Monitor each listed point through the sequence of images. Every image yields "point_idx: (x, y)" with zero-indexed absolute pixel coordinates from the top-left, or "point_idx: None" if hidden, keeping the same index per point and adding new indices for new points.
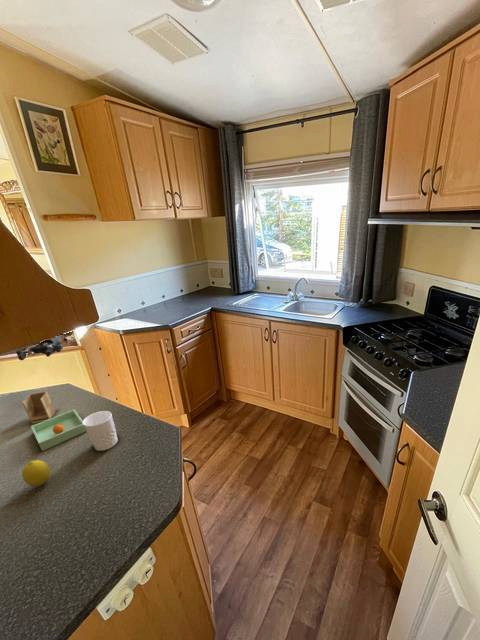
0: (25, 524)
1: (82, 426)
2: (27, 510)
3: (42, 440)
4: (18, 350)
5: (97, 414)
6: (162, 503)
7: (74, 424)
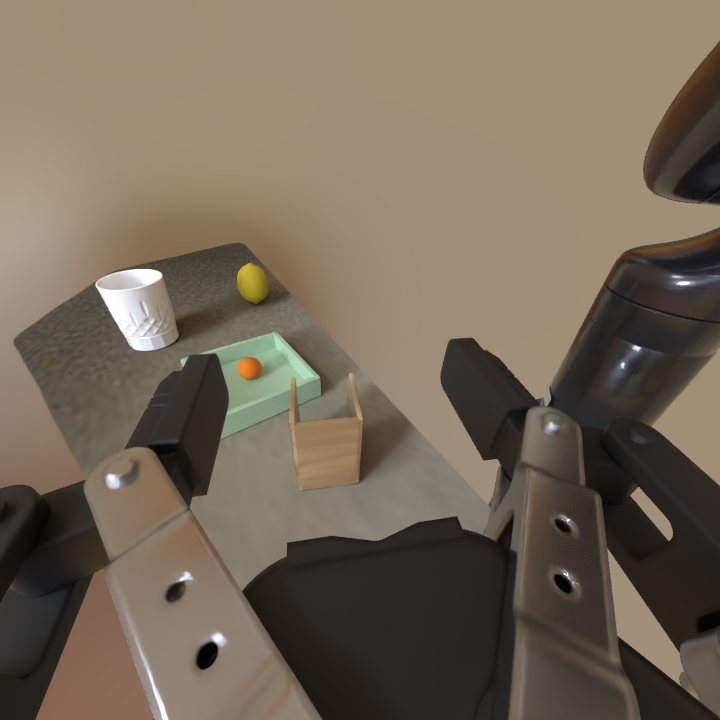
0: None
1: None
2: None
3: (285, 364)
4: (698, 480)
5: (127, 294)
6: None
7: None
